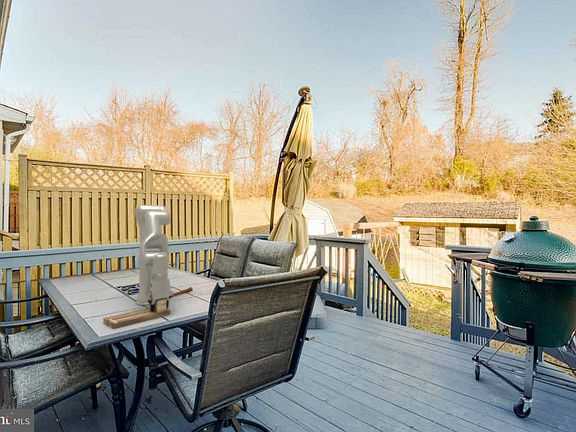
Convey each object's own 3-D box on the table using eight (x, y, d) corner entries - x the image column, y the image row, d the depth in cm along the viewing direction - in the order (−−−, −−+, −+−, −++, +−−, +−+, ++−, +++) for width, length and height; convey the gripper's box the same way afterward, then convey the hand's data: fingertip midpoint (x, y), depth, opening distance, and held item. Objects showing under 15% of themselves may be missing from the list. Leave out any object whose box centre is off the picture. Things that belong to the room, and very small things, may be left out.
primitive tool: (171, 298, 205) (171, 292, 205) (165, 296, 208) (165, 291, 208) (193, 292, 222) (193, 287, 222) (187, 291, 225) (188, 286, 225)
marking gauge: (151, 309, 171) (151, 298, 171) (160, 307, 175) (160, 296, 175) (158, 312, 166) (159, 301, 166) (167, 310, 170) (167, 299, 170)
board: (103, 323, 156) (103, 318, 156) (158, 310, 178) (158, 305, 178) (113, 329, 148) (113, 323, 148) (170, 314, 171) (170, 310, 171)
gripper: (147, 280, 161) (147, 314, 161) (178, 275, 175) (177, 307, 175) (140, 278, 166) (140, 311, 166) (171, 273, 179) (170, 304, 179)
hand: (159, 309), depth 170 cm, fingers open, 7 cm apart
